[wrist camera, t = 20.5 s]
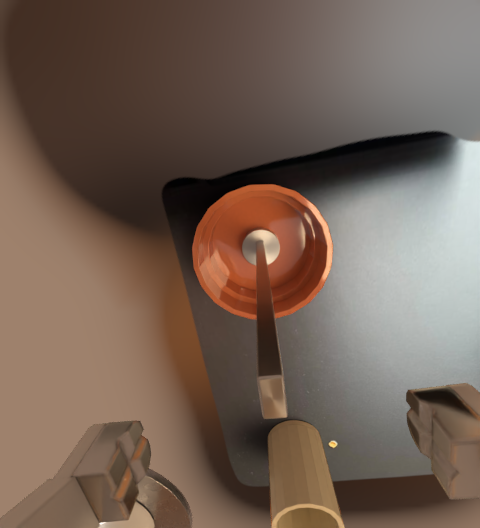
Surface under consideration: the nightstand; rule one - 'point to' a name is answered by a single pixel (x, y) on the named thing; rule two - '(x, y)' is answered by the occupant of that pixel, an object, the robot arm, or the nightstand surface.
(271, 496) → the crock
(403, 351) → the nightstand surface
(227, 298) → the bowl
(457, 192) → the nightstand surface
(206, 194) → the nightstand surface
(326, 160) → the nightstand surface
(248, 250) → the metal stirring rod
